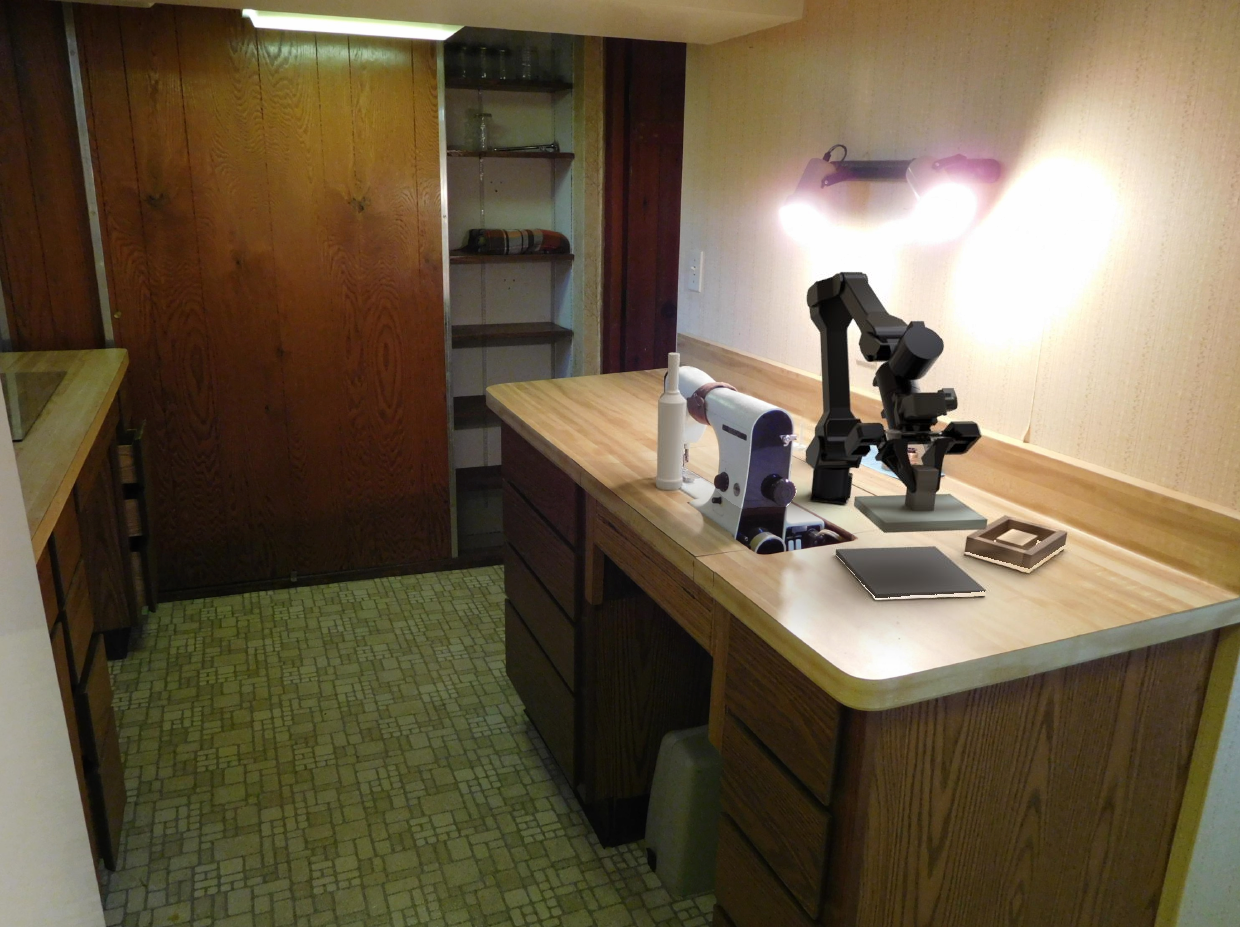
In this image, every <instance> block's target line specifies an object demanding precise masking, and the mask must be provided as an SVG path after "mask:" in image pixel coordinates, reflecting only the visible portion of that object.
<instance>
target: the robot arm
mask: <svg viewBox="0 0 1240 927" xmlns="http://www.w3.org/2000/svg"><path fill="white" fill-rule="evenodd" d="M806 304H807V307H808V308H809V309H808V310H809V318H810V319H811V321H812V323H813V324H814V326H815V327H816V329H817V330H818V332H819V335H820V336H819V338H820V340H819V341H820V360H821V361H820V362H821V366H820V367H821V383H822V384H821V386H822V389H821V390H822V409H823V410H822V415H821V416H820V417H819V420H818V422H817V423H816V425H815V427H814V436H813V438H812V440H811V441H810V443H809V444H808V447H807V448H806V449H805V463H807V465H809V466H810V467H811V468H812V469H813V471H812V481H811V492H810V496H809V501H812V502H821V503H830V504H838V505H847V503H848V500H849V499H850V498H851V495H852V485H853V478H854V474H853V473H852V472H851V470H850V468H852V469H860V466H861V463H862V459H863V457H867V455H868V454H869V453H870V452H871V451H872V448H871V446H876V449H877V453H876V455H875V456H874V459H875V461H876V462H881V463H883V465H885V467H887V468H888V469H889V470H890V471H891V472H892V473H893V474H894V475H895V476H896V478H898V479H899V480H900V482H901V483H902V484H903V485H904V487H906V489H907V488H908V489H909V491H910V492H911V493H915V492H916V491H917V487H916V480H915V477H914V473H913V470H912V466H911V465H912V463H911V460H910V457H909V446H910V445H911V446H912V445H915V446H917V445H922V446H923V448H924V453H923V454H922V455H921V457H920V459H921V462H922V463H921V464H922V465H923V464H929V465H931V466H932V467H934V468H936V469H937V470H939V474H938V481H937V488H936V493H938V492H939V490H940V487H941V481H942V480H941V478H942V470H943V465H944V464H943V463H944V459H945V456H949V455H950V456H951V455H952V456H954V455H955V456H957V455H964V454H967V453H968V452H969V451H970V450H971V448H973V447H974V446H975V445H976V443H977V442H978V441H979V440H980V439H981V438H982V437H983V435H982V432H981V429H980V426H979V424H978V423H977V422H975V421H974V420H968V421H967V420H963V421H961V420H959V421H956V420H955V421H953V420H952V421H950V422H949V423H948V424H947V425H946V427H945V428H943V430H932V428H931V427H935V426H936V425H937V424H938V423H939V420H938V419H939V417H942V416H943V417H944V416H945V417H946V416H948V412H949V413H950V412H953V411H955V410H957V409H958V406H959V403H958V401H959V400H958V396H957V393H956V390H955V388H954V387H943V388H941V389H937V391H935V392H929V391H928V392H921V388H920V384H919V380H921V379H923V378H924V377H925V376H926V375H927V373H928V372H929V371H930V369H931V368H932V367H933V366H934V364H935V363H936V361H937V360H938V359H939V358H940V356H941V355H942V353H943V352H944V348H945V343H944V340H943V338H942V337H941V336H940V335H939V334H938V333H937V332H936V331H935V330H933V329H931V328H929V327H926V323H925V321H923V320H910V322H909V323H908V324H907V323H906V321H904V320H903V319H902V318H901V317H898V316H895V315H892V314H890V313H889V312H888V311H887V310H886V308H885V307H884V305H883V303H882V302H881V301H880V298H879V297H878V295H877V294H876V292H875V291H874V290H873V288H872V287H871V285H870V283H869V278H868V275H867V274H866V273H863V272H862V271H840V272H838V273H837V272H836V273H835V274H834V275H832V276H830V277H828V278H824V279H821V280H816V281H815V282H814V283H813V284H812V285H810V287H809V288H808V289H807V292H806ZM852 321H854V322H855V324H856V325H857V327H858V329H859V331H860V337H859V340H858V346H859V350H860V352H861V355H862V356H863V358H864V360H865V361H866V362H867V363H882V364H881V365H879V366H878V369H877V370H876V371H875V373H874V375H875V376H874V377H873V379H872V387H873V388H874V387H875V388H876V387H877V388H878V391H879V392H878V393H879V396H880V400H881V403H882V404H881V405H882V406H883V409H882V410H881V411H880V416H881V419H885V420H886V423H887V428H888V429H886V428H885V427H884V424H883V423H881V422H862V420H861V418H857V417H856V415H855V414H854V413H853V411H852V407H851V385H850V384H851V383H850V381H851V380H850V366H849V364H850V361H849V360H850V359H849V337H848V335H849V334H848V328H849V326H850V325H851V323H852Z"/></svg>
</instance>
